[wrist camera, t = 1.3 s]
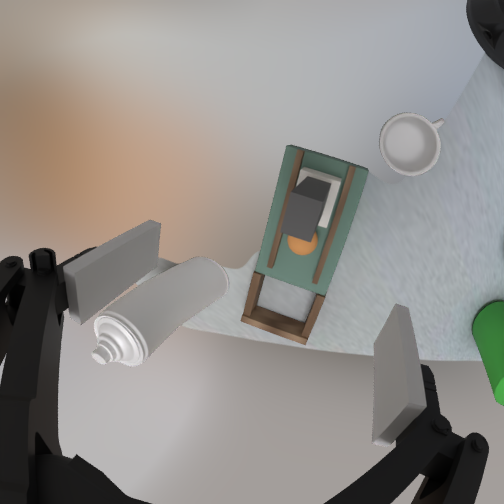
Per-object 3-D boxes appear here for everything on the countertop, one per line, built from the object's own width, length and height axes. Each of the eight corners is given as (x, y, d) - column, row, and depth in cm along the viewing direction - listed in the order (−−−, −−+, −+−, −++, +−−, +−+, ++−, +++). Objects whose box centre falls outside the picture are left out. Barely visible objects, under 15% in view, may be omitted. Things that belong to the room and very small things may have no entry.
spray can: (192, 311, 58) (112, 400, 36) (160, 265, 56) (64, 340, 35) (238, 289, 53) (159, 392, 31) (202, 237, 51) (99, 317, 29)
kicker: (341, 178, 37) (335, 200, 26) (328, 221, 40) (316, 260, 29) (304, 166, 38) (281, 183, 27) (292, 209, 41) (266, 243, 30)
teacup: (397, 181, 38) (402, 188, 33) (365, 134, 37) (366, 134, 33) (452, 144, 33) (464, 146, 29) (420, 96, 33) (429, 91, 28)
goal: (327, 286, 47) (324, 299, 44) (309, 330, 51) (305, 345, 48) (260, 263, 49) (252, 273, 46) (248, 308, 54) (240, 321, 50)
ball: (323, 226, 41) (319, 236, 37) (314, 252, 43) (310, 264, 39) (295, 217, 42) (288, 225, 38) (287, 243, 43) (280, 254, 40)
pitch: (367, 168, 39) (368, 171, 36) (327, 286, 47) (324, 295, 45) (291, 144, 41) (286, 145, 38) (260, 263, 49) (255, 271, 47)
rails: (355, 166, 37) (356, 167, 35) (318, 280, 44) (317, 284, 43) (299, 149, 38) (297, 149, 37) (268, 263, 46) (266, 266, 45)
